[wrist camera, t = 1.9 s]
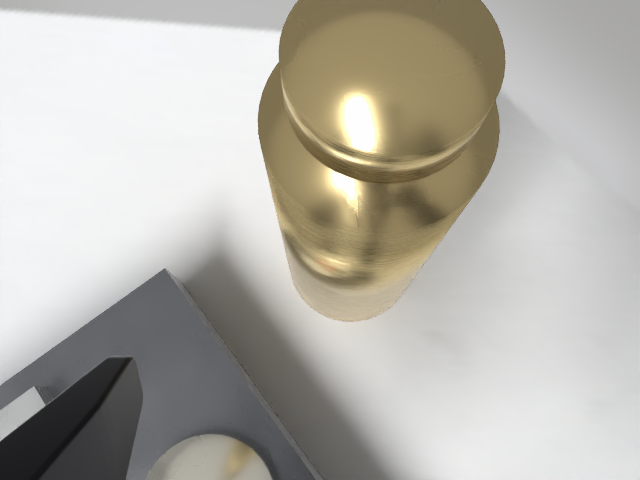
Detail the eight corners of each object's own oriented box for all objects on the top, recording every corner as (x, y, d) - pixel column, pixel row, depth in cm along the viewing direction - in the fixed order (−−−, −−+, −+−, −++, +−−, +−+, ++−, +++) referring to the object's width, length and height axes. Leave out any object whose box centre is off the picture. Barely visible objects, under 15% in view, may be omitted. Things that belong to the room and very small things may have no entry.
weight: (435, 271, 22) (604, 73, 9) (340, 347, 21) (371, 252, 8) (358, 182, 23) (407, -108, 10) (265, 251, 22) (184, 29, 9)
